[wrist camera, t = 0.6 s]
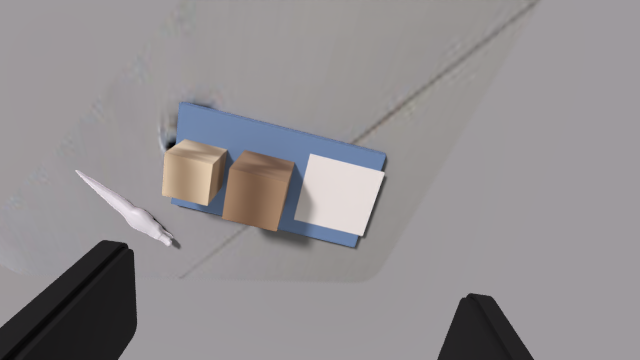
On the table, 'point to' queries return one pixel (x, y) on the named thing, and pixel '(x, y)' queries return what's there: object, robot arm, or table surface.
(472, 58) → the table surface
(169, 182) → the maple cube
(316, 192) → the board
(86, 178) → the stylus pen
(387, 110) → the table surface
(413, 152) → the table surface
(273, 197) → the walnut cube
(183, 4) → the table surface
